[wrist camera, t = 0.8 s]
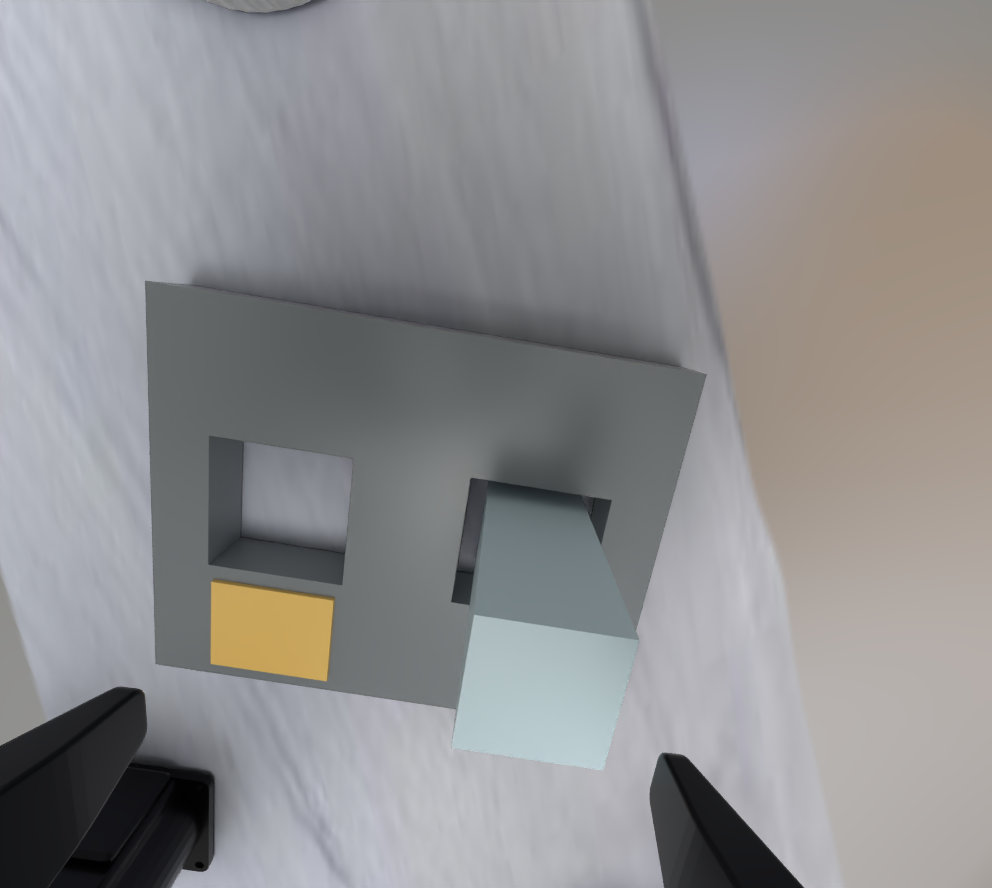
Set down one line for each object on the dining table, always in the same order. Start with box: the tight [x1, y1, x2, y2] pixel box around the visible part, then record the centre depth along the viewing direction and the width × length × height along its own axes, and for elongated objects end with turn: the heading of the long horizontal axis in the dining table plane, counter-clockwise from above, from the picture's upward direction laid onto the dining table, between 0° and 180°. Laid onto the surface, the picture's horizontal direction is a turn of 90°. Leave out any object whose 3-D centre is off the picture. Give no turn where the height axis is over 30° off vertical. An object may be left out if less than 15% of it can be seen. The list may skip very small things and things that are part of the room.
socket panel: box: [145, 281, 707, 709], centre depth 20 cm, size 16×20×3 cm
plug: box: [451, 481, 640, 770], centre depth 17 cm, size 4×4×10 cm
